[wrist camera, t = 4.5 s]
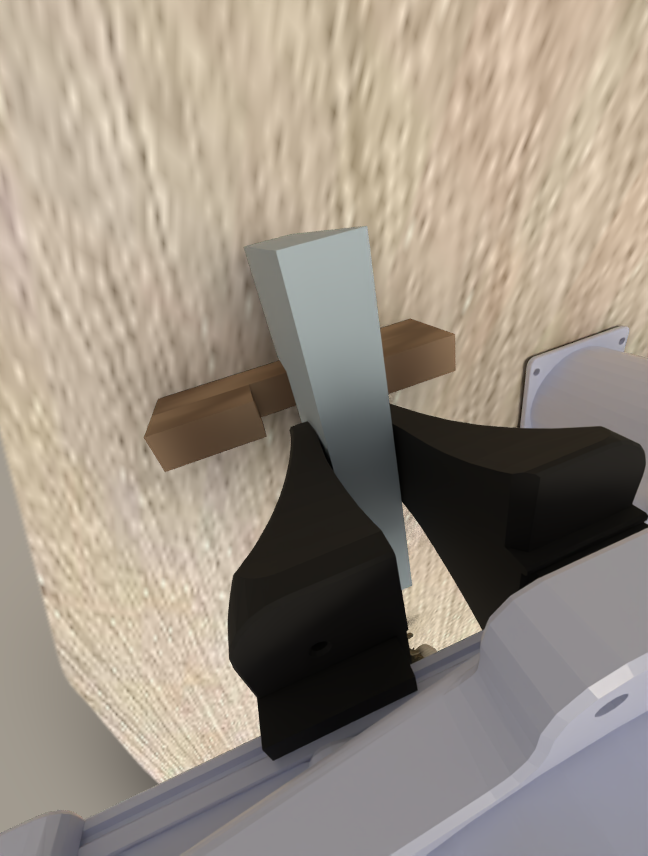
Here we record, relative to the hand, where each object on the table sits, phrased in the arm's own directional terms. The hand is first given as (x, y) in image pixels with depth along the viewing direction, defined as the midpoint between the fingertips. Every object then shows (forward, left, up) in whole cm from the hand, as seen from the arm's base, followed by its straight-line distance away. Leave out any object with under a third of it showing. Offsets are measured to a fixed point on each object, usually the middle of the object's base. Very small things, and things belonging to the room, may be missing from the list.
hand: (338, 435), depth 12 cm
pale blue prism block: (0, 0, -4) cm, 4 cm away
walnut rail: (0, 0, -7) cm, 7 cm away
